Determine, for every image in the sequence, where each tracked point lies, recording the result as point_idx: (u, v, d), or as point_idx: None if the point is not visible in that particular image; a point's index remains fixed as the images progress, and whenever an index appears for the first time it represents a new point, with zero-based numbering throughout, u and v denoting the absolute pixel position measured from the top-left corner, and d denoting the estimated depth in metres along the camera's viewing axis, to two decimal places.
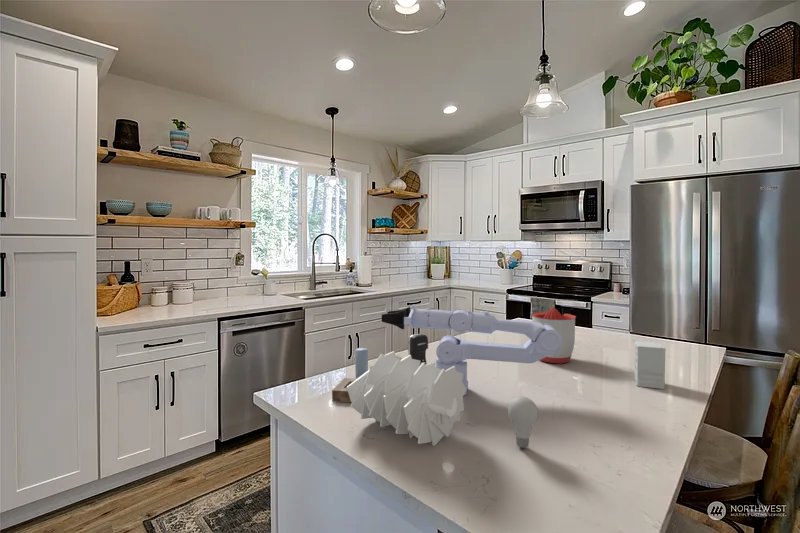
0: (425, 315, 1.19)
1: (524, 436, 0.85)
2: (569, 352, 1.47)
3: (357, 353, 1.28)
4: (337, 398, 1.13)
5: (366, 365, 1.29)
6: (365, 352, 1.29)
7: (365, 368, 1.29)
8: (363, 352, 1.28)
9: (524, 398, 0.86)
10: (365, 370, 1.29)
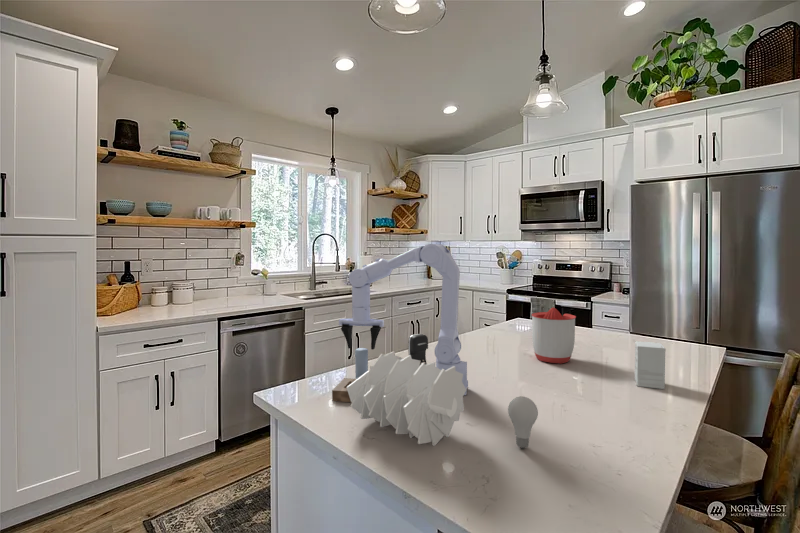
0: None
1: (524, 436, 0.85)
2: (569, 352, 1.47)
3: (357, 353, 1.28)
4: (337, 398, 1.13)
5: (366, 365, 1.29)
6: (365, 352, 1.29)
7: (365, 368, 1.29)
8: (363, 352, 1.28)
9: (524, 398, 0.86)
10: (365, 370, 1.29)
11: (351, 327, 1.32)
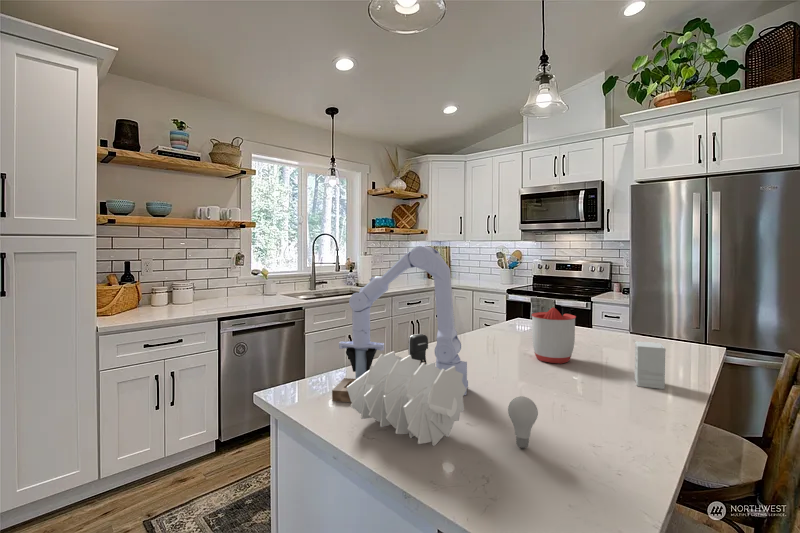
0: None
1: (524, 436, 0.85)
2: (569, 352, 1.47)
3: (357, 353, 1.28)
4: (337, 398, 1.13)
5: (366, 365, 1.29)
6: (365, 352, 1.29)
7: (365, 368, 1.29)
8: (363, 352, 1.28)
9: (524, 398, 0.86)
10: (365, 370, 1.29)
11: None
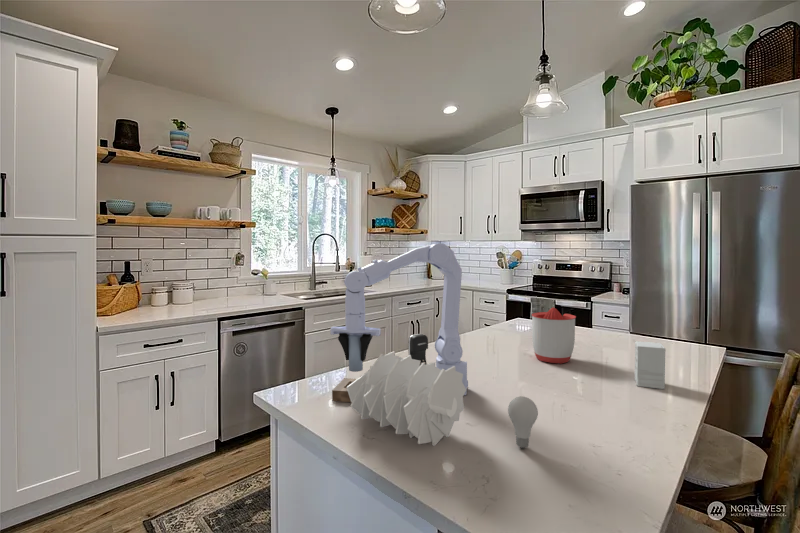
0: None
1: (524, 436, 0.85)
2: (569, 352, 1.47)
3: (351, 339, 1.15)
4: (337, 398, 1.13)
5: None
6: (359, 338, 1.15)
7: (359, 356, 1.16)
8: (357, 338, 1.15)
9: (524, 398, 0.86)
10: (359, 358, 1.16)
11: None
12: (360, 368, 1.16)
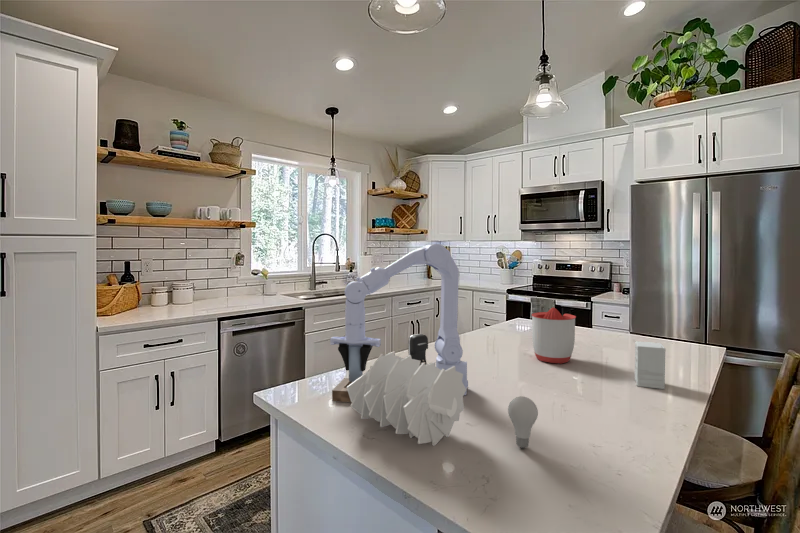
0: None
1: (524, 436, 0.85)
2: (569, 352, 1.47)
3: (351, 349, 1.15)
4: (337, 398, 1.13)
5: None
6: (359, 348, 1.15)
7: (359, 366, 1.16)
8: (357, 348, 1.15)
9: (524, 398, 0.86)
10: (359, 369, 1.16)
11: None
12: None
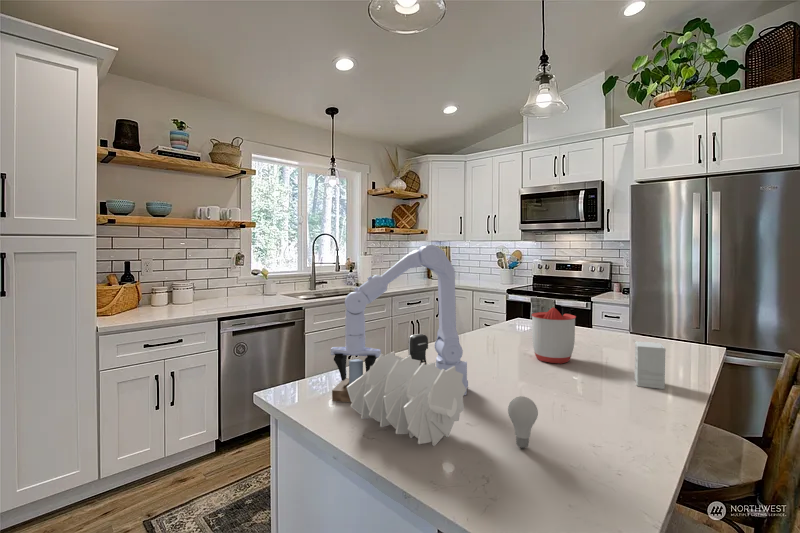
0: None
1: (524, 436, 0.85)
2: (569, 352, 1.47)
3: (351, 365, 1.15)
4: (337, 398, 1.13)
5: None
6: (360, 364, 1.16)
7: None
8: (358, 364, 1.15)
9: (524, 398, 0.86)
10: None
11: (345, 356, 1.19)
12: None
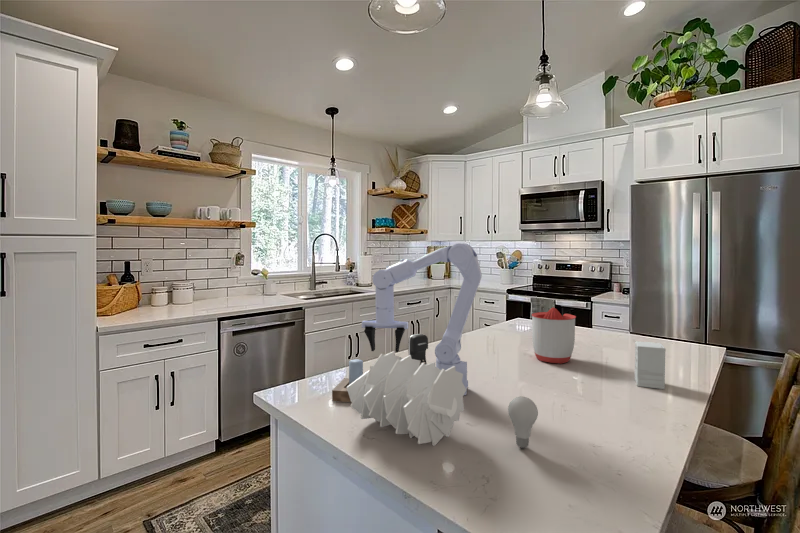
0: None
1: (524, 436, 0.85)
2: (569, 352, 1.47)
3: (351, 365, 1.15)
4: (337, 398, 1.13)
5: None
6: (360, 364, 1.15)
7: None
8: (358, 364, 1.15)
9: (524, 398, 0.86)
10: None
11: (374, 329, 1.28)
12: None
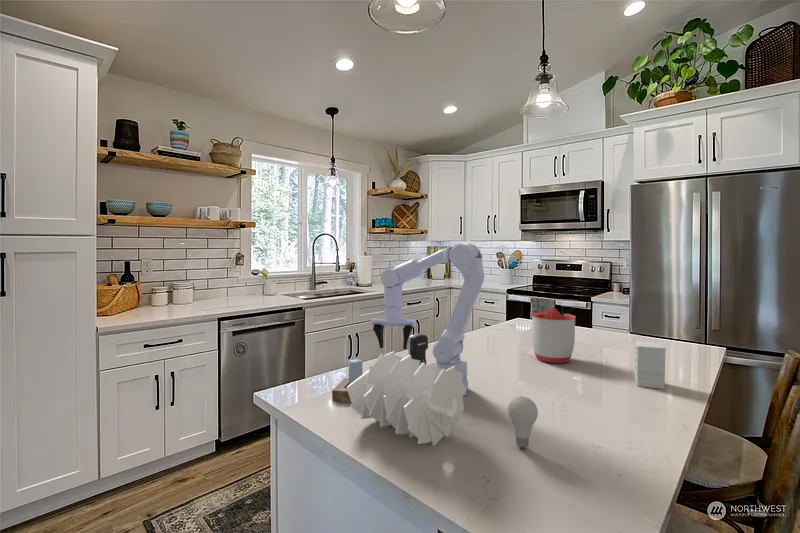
0: None
1: (524, 436, 0.85)
2: (569, 352, 1.47)
3: (350, 365, 1.15)
4: (337, 398, 1.13)
5: None
6: (359, 364, 1.15)
7: None
8: (357, 364, 1.15)
9: (524, 398, 0.86)
10: None
11: (382, 327, 1.32)
12: None
